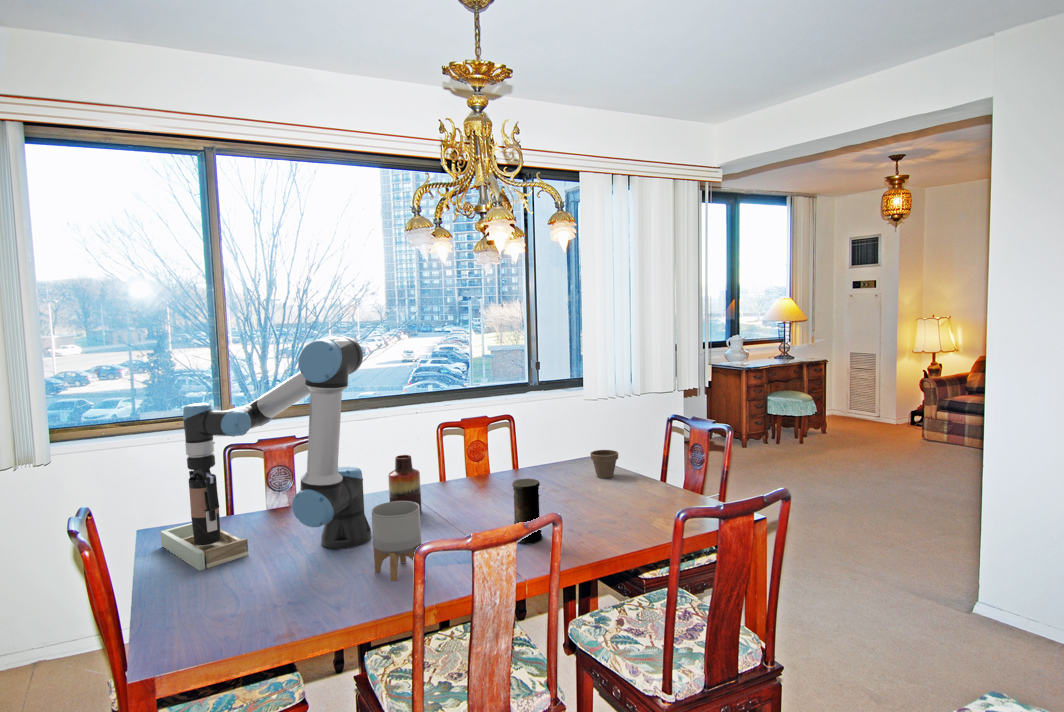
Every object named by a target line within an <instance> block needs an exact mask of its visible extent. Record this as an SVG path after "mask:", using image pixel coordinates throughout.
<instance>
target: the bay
mask: <svg viewBox="0 0 1064 712" xmlns="http://www.w3.org/2000/svg"><path fill="white" fill-rule="evenodd" d="M159 532H160V533H159V534H160V543H161V545H160V546H161V548H163V547H164V548H166V549H167V550H166V549H165V550H166V551H168V550H169V551H170V552H169V551H168V552H169V553H171V552H172V553H173V555H174V554H175V555H176V556H175V555H174V556H175V557H177V556H178V557H177V558H179V559H180V558H181V559H180V560H182V561H183V560H184V562H185V563H187V564H189V565H190V566H191V567H193V568H194V569H197V570H198V571H199V572H201V571H203V570H206V567H205V560H204V552H203V551H201V550H199V549H198V548H196V547H194V546H193V545H191V544H189V543H187V542H186V541H184V540H182V539H183V538H186V537H190V536H193V527H192V522H191V523H185V524H182V525H180V526H175V527H172V528H168V529H167V528H166V529H164V530H161V531H159ZM164 548H163V549H164ZM172 553H171V554H172Z"/></svg>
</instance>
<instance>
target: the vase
mask: <svg viewBox="0 0 1064 712" xmlns="http://www.w3.org/2000/svg"><path fill="white" fill-rule="evenodd" d="M394 459H395V460H394V461H395V462H394V470H392V471H390V472H389V473H388V475H387V478H388V495H389V502H393V501H411V502H415V503H417V504H419V506H420V515H421V514H422V497H421V496H422V492H421V491H422V490H421V473H420V471H419V470H418V469H415V468H413V459H412V455H409V454H401V455H397V456H395V458H394Z"/></svg>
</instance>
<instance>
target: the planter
mask: <svg viewBox="0 0 1064 712" xmlns="http://www.w3.org/2000/svg"><path fill="white" fill-rule="evenodd" d="M371 524H372V526H371V527H372V529H371V530H372V544H373V545H372V546H373V560H374V573H380V572H381V571H382V564H383V562H384V561H385V560H386V559H387V558H389V567H390V568H389V571H390V582H396V581H397V580H398V568H399V567H398V566H399V563H400V562H407V558H408V559H409V558H410V560H411V561H413V557H414V552H415V550H416V548H417V547H418V546H420V545H422V529H421V528H422V527H421V514H420V506H419V504H417V503H415V502H411V501H393V502H390V501H387V502H384V503H380V504H378V505H376V506H374V507H373V508H372V509H371Z"/></svg>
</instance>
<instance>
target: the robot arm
mask: <svg viewBox="0 0 1064 712" xmlns="http://www.w3.org/2000/svg"><path fill="white" fill-rule="evenodd" d="M363 360H364V352H363V349H362V347H361V345H360V344H359V342H357V340H355V339H354V338H352V337H350V336H335V337H328V338H327V337H326V338H323V337H322V338H317V339H315V340H313V341H310V342H309V343H307V344H306V345H305V346H304V347H303V348H302V350H301V351H300V352H299V356H298V369H299V372H297V373H295V374H294V375H292V376H290V377H289V378H288V379H286V380H284V381H283V382H281V383H279V384H278V385H276V386H275V387H273V388H272V389H270V390H269V391H268V392H265V393H264V394H262V395H261V396H259V397H258V398H256V399H255V400H253V401H251V402H250V403H248V404H246V405H241V406H239V407H235V408H230V409H226V410H212V409H213V408H212V406H211V404H210V403H209V402H208V403H207V402H198V403H197V402H196V403H191V404H187V405H185V406H183V408H182V410H183V411H182V412H183V415H182V416H183V417H182V422H183V427H184V439H185V442H184V443H185V444H184V445H185V455H186V456H187V457H186V465H187V469H188V470H189V472H188V474H189V478H191V477H193V478H194V481H196V480H197V481H199V480H206V481H205V482H206V489H207V492H205V491H204V495H205V503H206V508H207V509H206V510H204V511H205V512H206V523H207V532H211V531H215V530H217V517H216V509H217V508H219V509H220V503H219V493H218V494H217V492H218V486H217V487H216V481H217V475H216V476H212V474H213V473H212V472H211V468H213V467H215V465H216V457H215V456H216V455H215V453H214V452H215V446H214V445H215V444H216V442H215V441H214V437H215V436H216V437H239V436H241V437H242V436H244V435H246V434H248V431H249V430H252V429H254V428H256V427H261V426H262V427H263V426H264V425H266V424H268V423H269V422H271V421H272V420H273V418H274V417H276V416H277V415H279V414H280V413H282V412H283V411H285V410H287V409H289V408H290V407H292V406H293V405H295V404H297V403H298V402H300V401H301V400H303V399H304V398H306V397H308V396H309V418H308V419H309V420H308V434H307V435H308V436H307V437H308V439H307V458H306V459H307V460H306V472H305V473H304V474H303V475H302V476H301V477H300V487H299V491H298V492H297V493H296V494H295V495H294V497H293V499H292V502H291V509H292V512H293V516H295V518H296V519H297V520H298V521H299V523H301V524H302V525H303V526H305V527H308V528H321V527H323V528H322V531H321V532H322V533H321V536H320V539H321V542H320V543H321V546H323V547H324V548H327V549H334V550H335V549H336V550H341V549H342V550H344V549H351V548H356V547H359V546H361V545H364V544H366V543H368V542H369V541H370V540H371V539H372V529H371V527H370V524H369V521H368V519H367V516H366V514H365V500H364V499H365V497H364V483H363V482H364V478H363V472H362V470H361V469H360V468H359V467H357V466H356V467H354V466H339V454H340V453H339V451H340V435H341V433H340V432H341V413H342V398H343V392H344V390H345V389H347V388H348V387H349V386H348V385H349V375H351V374H353V373H354V372H356V371H357V370H358V369H359V368H360V367H361V365H362V363H363V362H364V361H363Z"/></svg>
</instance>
